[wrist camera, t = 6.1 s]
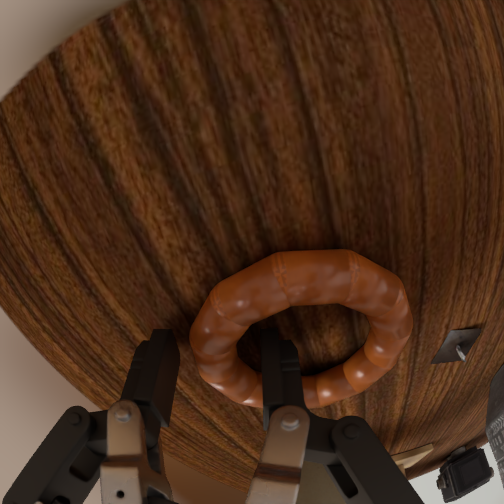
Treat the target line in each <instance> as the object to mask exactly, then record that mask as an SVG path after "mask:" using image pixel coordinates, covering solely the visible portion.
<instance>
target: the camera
mask: <svg viewBox="0 0 504 504" xmlns="http://www.w3.org/2000/svg"><path fill="white" fill-rule="evenodd" d="M439 471H440V473H441V474H440V475H439V476H438V480H437V481H436V482H437V487H438V489H441V491H442V495H443V499H444V502H445V503H448V502H451V501H455V500H457V499H459V498H461V497H463V496H465V495H466V494H468V493H470V492H472V491H473V490H475V489H477V488H478V487H480V486H482V485H484V484H485V483H487V482H488V481H489V480H490V478H492V477H493V476H494V471H493V468H492V467H489V464H488V461H487V458H486V456H485V453H484V449H481V448H479V449H477V448H476V446H474V447H472V448H470V449H468V450H467V451H466V449H465V446H464V447H461V448H459V449H457V450H456V451H454V452H452V453H451V456H450V457H448V458H447V461H446V462H445V463H444V465H443V466H442V467H441V468H440V470H439Z"/></svg>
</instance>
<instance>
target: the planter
mask: <svg viewBox="0 0 504 504" xmlns="http://www.w3.org/2000/svg"><path fill="white" fill-rule="evenodd" d="M485 431H486V434H487V437H488V440H489V443H490V446H491V449H492V452H493V454H494V457H495V459H496V461H497V462H498V463H497V465H498V469H499V472H500V476H501V480H502V484H503V488H504V364H503V365H502V367H501V368H500V369H499V371H498V372H497V373H496V375H495V376H494V378H493V380H492V382H491V384H490V392H489V400H488V408H487V417H486V428H485Z"/></svg>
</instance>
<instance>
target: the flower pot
mask: <svg viewBox="0 0 504 504" xmlns="http://www.w3.org/2000/svg"><path fill="white" fill-rule="evenodd" d="M296 504H346V503H345V501H344V499H343V498H342V496H341V494H340V493H339V491H338V490H337V488H336V486H335V485H334V483H333V481H332V480H331V478H330V476H329V475H328V473H327V471H326V470H325V468H324V466H323V464H319V463H313V462H308V461H303V465H302V470H301V480H300V485H299V490H298V495H297V499H296Z"/></svg>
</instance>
